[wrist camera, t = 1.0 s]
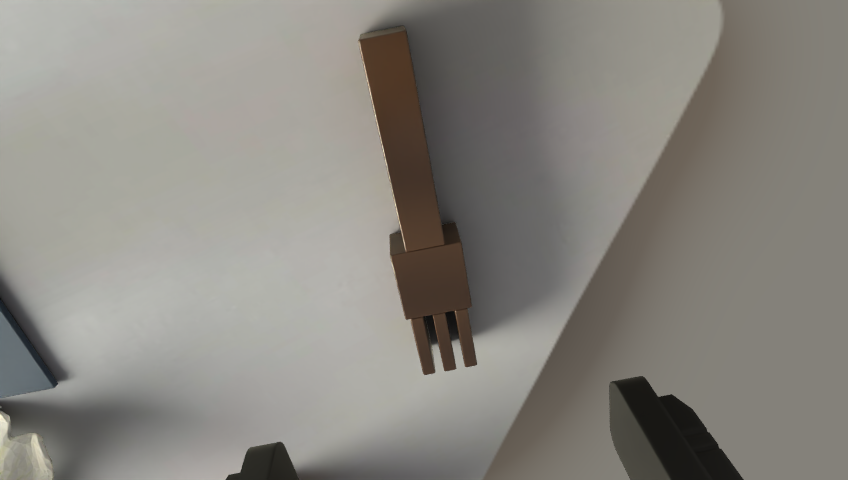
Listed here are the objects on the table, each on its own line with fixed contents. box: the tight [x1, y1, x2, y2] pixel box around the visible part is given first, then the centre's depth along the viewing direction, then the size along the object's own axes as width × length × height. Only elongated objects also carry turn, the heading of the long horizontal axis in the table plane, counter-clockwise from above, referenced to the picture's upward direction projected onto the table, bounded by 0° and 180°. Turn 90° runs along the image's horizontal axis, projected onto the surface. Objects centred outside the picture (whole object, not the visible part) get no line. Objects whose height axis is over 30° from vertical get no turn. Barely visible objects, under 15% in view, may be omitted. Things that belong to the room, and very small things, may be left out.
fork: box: [358, 26, 477, 375], centre depth 26 cm, size 18×4×2 cm, turn 10°
